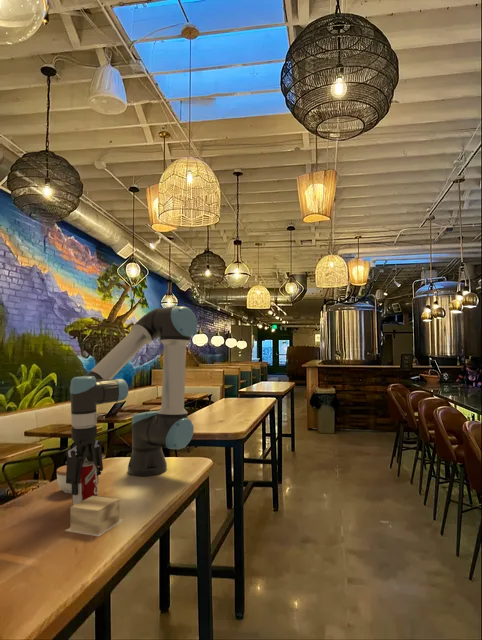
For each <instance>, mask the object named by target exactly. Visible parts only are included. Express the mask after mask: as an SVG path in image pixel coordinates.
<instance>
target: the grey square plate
mask: <svg viewBox="0 0 482 640" xmlns="http://www.w3.org/2000/svg"><path fill="white" fill-rule="evenodd" d="M123 521H125V519H121V518H119V521H118V522H117V523H115V524H113V525H112V526H110V527H109V528H107V529H105V530H104V531H102V532H101V533H99V534H94V533H88V532H82V531H76V530H70V527H69V528H67V529H65V530H64V531H65V532H70V533H76V534H80V535H81V534H82V535H87V536H93V537H100V536H102V535H103V534H105V533H107V532H108V531H110V530H111V529H113V528H115V527H116V526H118V525H119V524H120V523H122V522H123Z"/></svg>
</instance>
